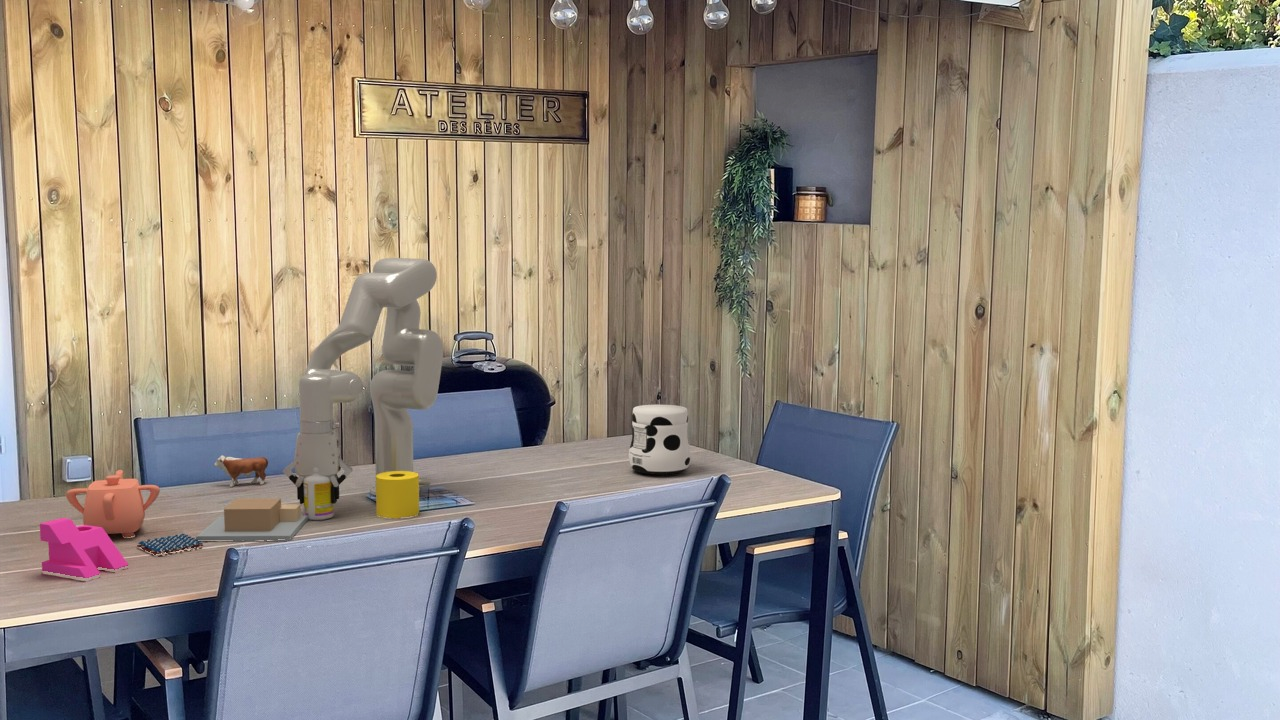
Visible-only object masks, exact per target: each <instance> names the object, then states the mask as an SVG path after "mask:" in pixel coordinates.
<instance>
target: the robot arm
mask: <svg viewBox="0 0 1280 720" xmlns="http://www.w3.org/2000/svg"><path fill="white" fill-rule="evenodd" d="M437 273H438V272H437V269H436V266H435V264H433V263H432V262H431V261H429V259H424V258H403V257H387V258H381V259H379V260H377V261H376V262H375V263H374V265H373V268H372V272H364V273H361V274H359V275H358V276H357V277H356V278H355V279H354V282H353V284H352V286H351V290H350V293H349V295H348V299H347V301H346V304H345V307H344V310H343V313H342V316H341V319H340V322H339V324H338V327H336V328H335V329H334V330H333V331H332V332H331V333H330V334H328V335H327V336H326V337H325V338H324V339H323V340H322V341H321V342H320V343H319V344H318V346H317V347H315V349H314V350H313V352H312V353H311V356H310V358H309V360H308V364H307V367H306V369H305V373H304V375H302V376H301V377H300V378H299V381H298V389H299V390H298V392H299V393H298V397H299V398H298V399H299V402H298V403H299V428H300V429H299V430H300V431H299V432H298V433H297V436H296V442H295V448H294V449H295V452H294V460H293V461H291V462H290V463H289V464H288V465H287V466H286V467H285V468H283V470H282V473H283V474H284V475H285V476H286V477H287V478H288V479H289V481H291V482H292V483H293V484H294V485H295V487H296V492H297V493H296V496H297V500H299V504H300V505H304V485H303V479H304V477H305V476H310V475H313V474H315V473H317V474H319V475H322V476H329V478H330V480H331V481H332V483H333V486H332V487H331V500H332V504H333V505H334V504H336V503H337V502H338V500H340V485H341V484H342V483H343V482H344V481H345V480H346V478H348V477H349V475H350V474H351V473H352V472H353V468H352V467H351V465H349V464H348V463H346V462H345V461H344V460H343V459H342V458H341V446H340V440H339V435H338V432H337V431H335V430H337V429H340V426H341V423H340V422H337V421H335V419H334V404H336V403H339V404H340V403H342V404H346V403H351V402H354V401H356V400H357V399H358V398H359V397H360V396H361V395H362V392H363V388H364V384H363V380H362V378H361V376H360V375H358V374H357V373H354V372H353V371H348V370H347V371H346V370H338V369H332V367H333V365H334V364H335V362H336V360H338V359H339V358H340V357H341V356H342V355H344V354H345V353H347V352H349V351H350V350H353V349H355V348H357V347H360V346H363V345H365V344H366V343H368V342H370V341H371V340H372V339H373V338H374V335H375V332H376V329H377V325H378V323H379V320H380V317H381V314H382V310H383V309H385V308H386V318H385V326H384V332H383V338H382V346H381V349H382V350H381V355H382V358H383V360H384V361H385V362H386V363H388V364H391V365H396V366H409V367H414V370H413V371H411V370H402V369H401V370H399V369H385V370H380V371H378V372H376V374H374V375H373V377H372V379H371V381H370V385H369V393H370V398H371V403H372V408H373V414H374V415H373V417H374V449H375V451H374V453H375V454H374V455H375V456H374V457H375V476H376V475H377V474H380V473H383V472H390V471H411V472H414V433H413V432H414V427H413V426H414V425H413V421H412V418H411V415H410V413H409V410H419V411H420V410H421V411H423V410H428V409H430V408H432V406H433V405H434V404H435V402H436V399H437V397H438V392H439V385H440V381H441V373H442V366H443V359H444V346H443V345H444V344H443V341H442V339H441V336H440V335H439V334H438V333H437V332H436V331H434V330H431V329H421V328H420V323H421V307H420V303H419V301H418V299H420V298H421V297H423V296H424V295H427V294H428V293H429V292H430V291H431V290H432V289H433V288H434V287H435V284H436V282H437V280H438V279H437V278H438V277H437V275H438V274H437ZM315 467H316V468H318V472H314V471H313V469H314V468H315ZM292 469H294V473H295V474H294V473H293V471H292ZM341 470H343V473H342V474H341V475H340V476H339V475H338V472H340V471H341ZM420 486H424V487H430V486H432V479H431V478H428V477H419V492H420V491H421V489H420ZM369 493H370V495H372V496H375V495H376V484H375V485H373V486H371V487H369Z"/></svg>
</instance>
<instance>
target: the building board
mask: <svg viewBox="0 0 1280 720" xmlns="http://www.w3.org/2000/svg"><path fill="white" fill-rule="evenodd" d="M308 521H309V519H308V517H307V516H305V515H302V514H301V504H300V503H299V504H298V503H297V504H296V503H295V504H294V503H293V504H292V503H291V504H290V503H289V504H285V503H284V504H283V503H282V498H236V499H234V500H233V501H232V502H231V503H230V504H228V505H227V506H226V507H225V508H223V515H219V516H218V517H217V518H216V519H215V520H213V521H212V522H211V523H210V524H209V525H207V527H205V528H204V529H203V530H201V532H199V533H198V534H197V535H196V536H195V539H198V540H233V541H232V542H256V541H255V540H264V541H263V542H268V541H267V540H278V539H285V540H279V541H278V542H289V541H288V540H290V541H291V540H292V539H293V538H294V537H295V536H296V535H297V533H298V532H299V531H300V530H301V529H302V528H303V527H304V525H305V524H306V523H307V522H308ZM301 527H302V528H301ZM300 528H301V529H300ZM295 534H296V535H295ZM294 535H295V536H294ZM293 536H294V537H293ZM290 538H292V539H290ZM242 540H244V541H242Z"/></svg>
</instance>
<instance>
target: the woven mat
mask: <svg viewBox="0 0 1280 720" xmlns="http://www.w3.org/2000/svg"><path fill="white" fill-rule="evenodd" d="M203 544H204V543H203V542H201V541H198V539H196V537H192V536H190V535H188V534H185V533H181V534H174V535H172V536H171V535H167V536H165V537H164V536H163V537H162V536H161V537H158V538H157V537H155V538H152V539H147V540H144V541H143V540H140V541H139V542H138V544H137V545H136V547H137V548H139V547H141V548H142V549H143V550H146V551H148V552H150V551H151V553H153V554H154V555H156V554H161V553H162V554H164V553H165V552H166V553H169V552H176V551H179V550H184V549H185V548H187V549H191V548H194V547H204V545H203ZM190 547H191V548H190ZM194 549H195V548H194ZM143 550H142V551H143ZM184 551H185V550H184ZM176 553H177V552H176ZM169 554H170V553H169ZM154 555H153V556H154Z"/></svg>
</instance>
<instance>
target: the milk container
mask: <svg viewBox="0 0 1280 720" xmlns="http://www.w3.org/2000/svg"><path fill="white" fill-rule="evenodd" d="M631 419H632V421H631V422H632V423H631V429H632V430H631V434H632V435H631V436H632V437H631V442H630V446H629V450H628V461H629V465H630V468H631V469H632V470H633V471H635V472H638V473H641V474H646V475H654V476H655V475H657V476H660V475H661V476H662V475H664V476H665V475H666V476H667V475H674V474H679V473H682V472H685V471H686V470H688V468H689V466H690V463H691V459H692V458H691V457H692V456H691V455H692V454H691V453H692V452H691V447H690V445H689V441H688V437H689V436H688V433H689V432H688V431H689V428H688V427H689V423H688V421H689V412H688V408H687V407H685V406H682V405H675V404H657V403H656V404H643V405H637V406H634V407H633V408H632V417H631Z"/></svg>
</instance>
